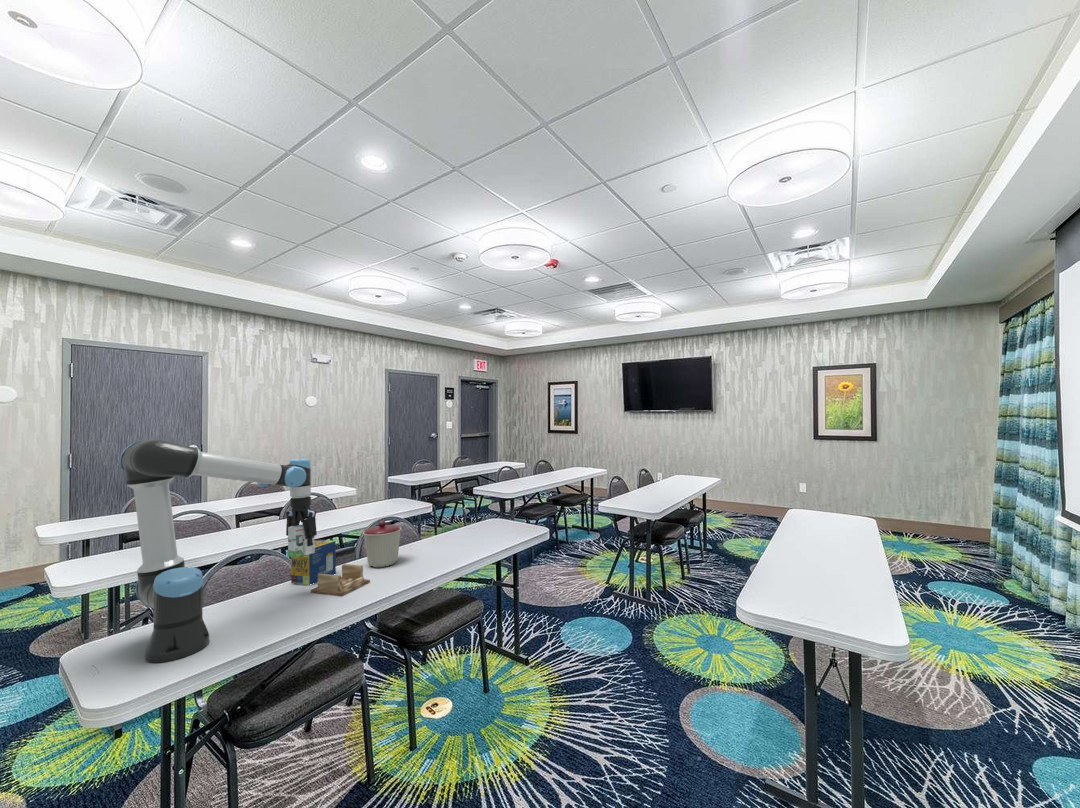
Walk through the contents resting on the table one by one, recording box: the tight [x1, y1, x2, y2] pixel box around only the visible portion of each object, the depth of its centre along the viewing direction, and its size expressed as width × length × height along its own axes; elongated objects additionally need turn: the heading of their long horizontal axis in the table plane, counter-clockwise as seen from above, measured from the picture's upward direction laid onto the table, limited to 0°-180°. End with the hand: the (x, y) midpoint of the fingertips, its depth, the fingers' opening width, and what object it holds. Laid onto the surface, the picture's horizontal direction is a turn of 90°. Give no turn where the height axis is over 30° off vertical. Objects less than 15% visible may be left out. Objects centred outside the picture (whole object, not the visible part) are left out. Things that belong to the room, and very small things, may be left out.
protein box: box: [290, 539, 337, 586], centre depth 197 cm, size 10×15×16 cm
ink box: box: [287, 524, 315, 558], centre depth 179 cm, size 9×5×12 cm, turn 142°
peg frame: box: [310, 563, 371, 597], centre depth 184 cm, size 16×16×7 cm
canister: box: [362, 520, 402, 568], centre depth 215 cm, size 18×18×21 cm
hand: (301, 553), depth 179 cm, fingers closed on ink box, 6 cm apart
